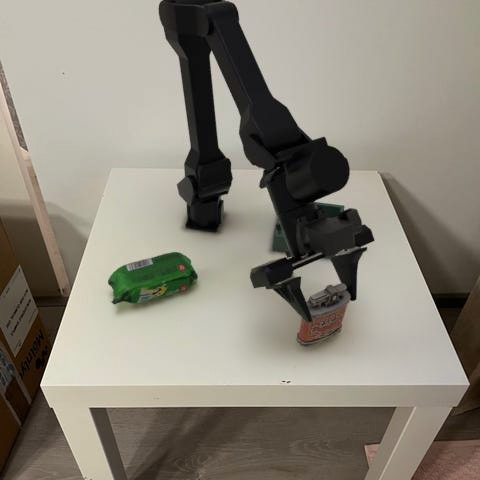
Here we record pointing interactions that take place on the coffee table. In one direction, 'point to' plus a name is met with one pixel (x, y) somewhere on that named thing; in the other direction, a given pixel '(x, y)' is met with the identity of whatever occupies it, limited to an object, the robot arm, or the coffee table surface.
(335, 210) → the shallow open tray
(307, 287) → the coffee table surface
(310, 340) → the lighter
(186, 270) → the snack package
